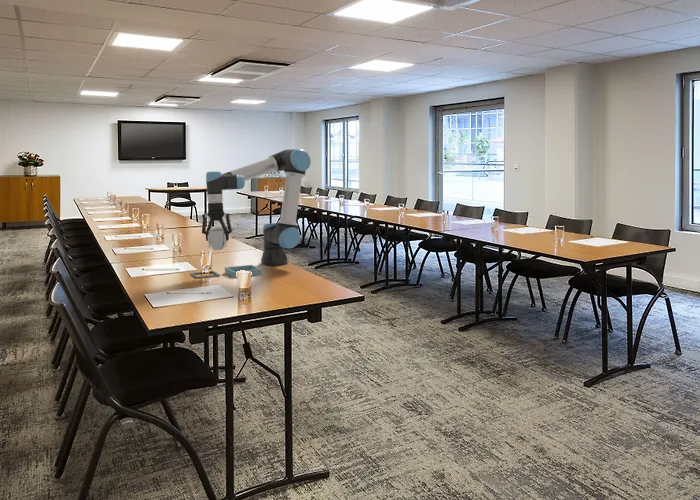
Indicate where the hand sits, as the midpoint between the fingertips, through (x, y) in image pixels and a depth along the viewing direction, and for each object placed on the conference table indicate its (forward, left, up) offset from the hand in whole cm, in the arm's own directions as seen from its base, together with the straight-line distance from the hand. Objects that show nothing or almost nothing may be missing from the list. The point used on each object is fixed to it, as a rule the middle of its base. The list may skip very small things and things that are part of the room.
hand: (217, 247), depth 298 cm
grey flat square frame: (+7, -2, -14) cm, 16 cm away
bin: (-11, +4, -14) cm, 19 cm away
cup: (0, 0, -1) cm, 1 cm away
